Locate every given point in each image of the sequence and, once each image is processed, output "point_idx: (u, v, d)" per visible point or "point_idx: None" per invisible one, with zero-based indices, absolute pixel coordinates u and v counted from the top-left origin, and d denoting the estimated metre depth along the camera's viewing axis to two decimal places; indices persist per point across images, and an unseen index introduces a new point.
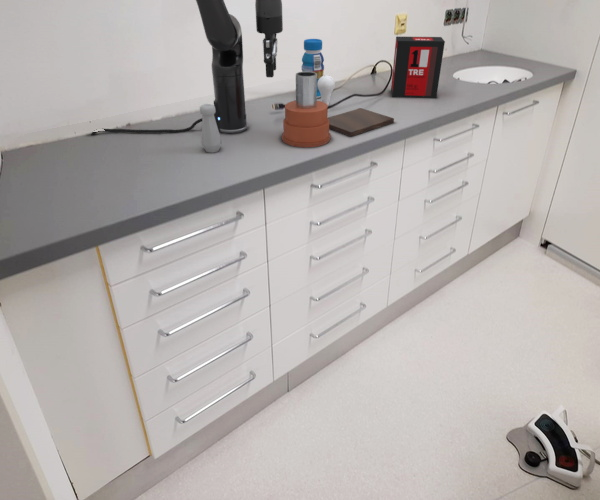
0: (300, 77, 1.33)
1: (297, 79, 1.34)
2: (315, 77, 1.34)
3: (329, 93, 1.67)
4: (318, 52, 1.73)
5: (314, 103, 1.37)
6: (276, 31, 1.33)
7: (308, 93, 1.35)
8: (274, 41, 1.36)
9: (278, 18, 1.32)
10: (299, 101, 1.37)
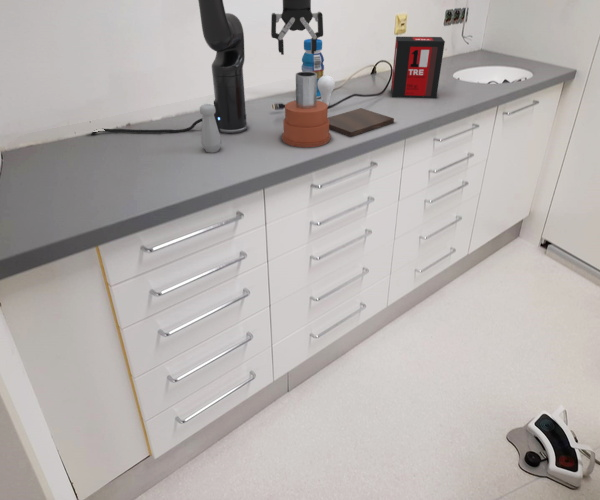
0: (300, 77, 1.33)
1: (297, 79, 1.34)
2: (315, 77, 1.34)
3: (329, 93, 1.67)
4: (318, 52, 1.73)
5: (314, 103, 1.37)
6: (286, 7, 1.25)
7: (308, 93, 1.35)
8: (290, 18, 1.27)
9: None
10: (299, 101, 1.37)
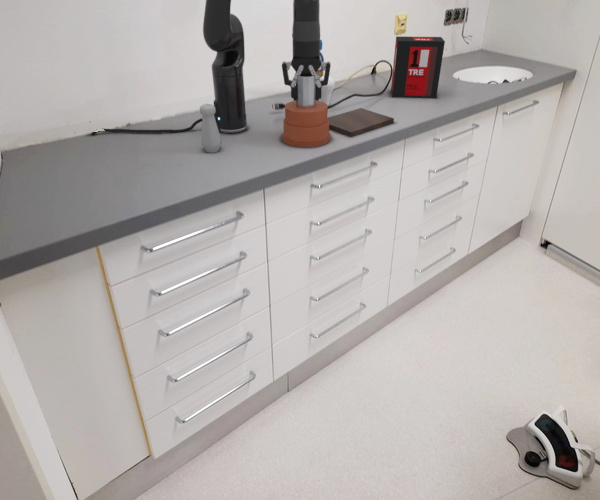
0: (300, 77, 1.33)
1: (297, 79, 1.34)
2: None
3: (329, 93, 1.67)
4: None
5: (314, 103, 1.37)
6: (295, 55, 1.30)
7: (308, 93, 1.35)
8: (299, 65, 1.32)
9: (297, 43, 1.27)
10: (299, 101, 1.37)
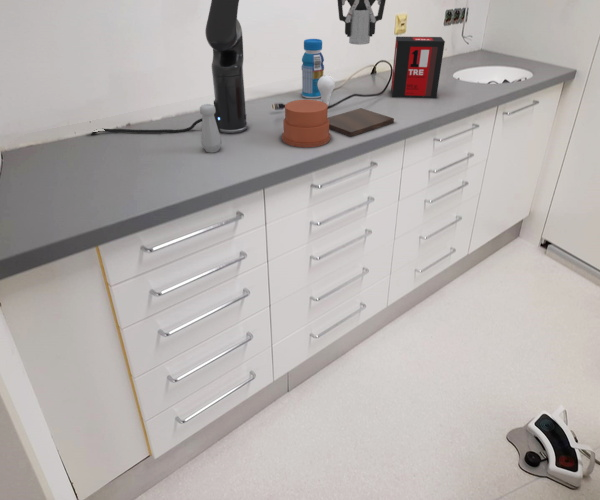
0: (355, 11, 1.35)
1: (352, 14, 1.36)
2: None
3: (329, 93, 1.67)
4: (318, 52, 1.73)
5: (368, 39, 1.39)
6: None
7: (363, 28, 1.37)
8: None
9: None
10: (353, 37, 1.39)
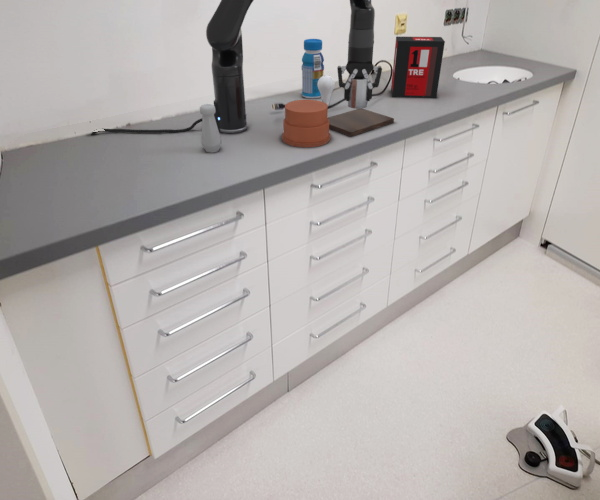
0: (354, 80, 1.46)
1: (351, 82, 1.47)
2: None
3: (329, 93, 1.67)
4: (318, 52, 1.73)
5: (365, 103, 1.51)
6: (350, 60, 1.43)
7: (361, 94, 1.48)
8: (353, 69, 1.45)
9: (353, 49, 1.41)
10: (352, 102, 1.50)
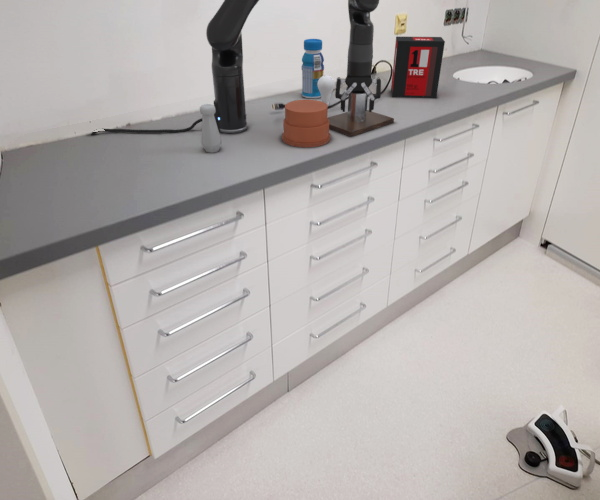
0: (353, 94, 1.48)
1: (350, 96, 1.49)
2: (366, 94, 1.49)
3: (329, 93, 1.67)
4: (318, 52, 1.73)
5: (364, 117, 1.53)
6: (349, 74, 1.45)
7: (360, 108, 1.50)
8: (352, 83, 1.48)
9: (352, 63, 1.43)
10: (351, 115, 1.52)
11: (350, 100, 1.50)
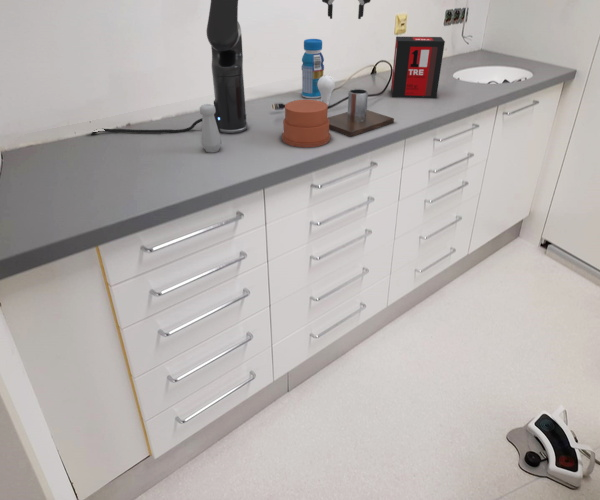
0: (353, 94, 1.48)
1: (350, 96, 1.49)
2: (366, 94, 1.49)
3: (329, 93, 1.67)
4: (318, 52, 1.73)
5: (364, 117, 1.53)
6: None
7: (360, 108, 1.50)
8: None
9: None
10: (351, 115, 1.52)
11: (350, 100, 1.50)
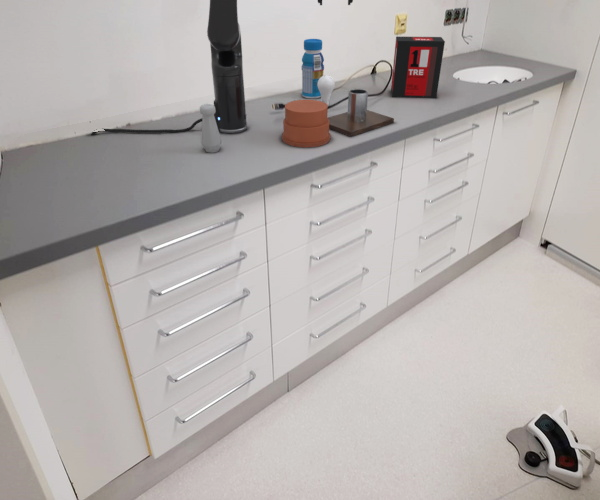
0: (353, 94, 1.48)
1: (350, 96, 1.49)
2: (366, 94, 1.49)
3: (329, 93, 1.67)
4: (318, 52, 1.73)
5: (364, 117, 1.53)
6: None
7: (360, 108, 1.50)
8: None
9: None
10: (351, 115, 1.52)
11: (350, 100, 1.50)
